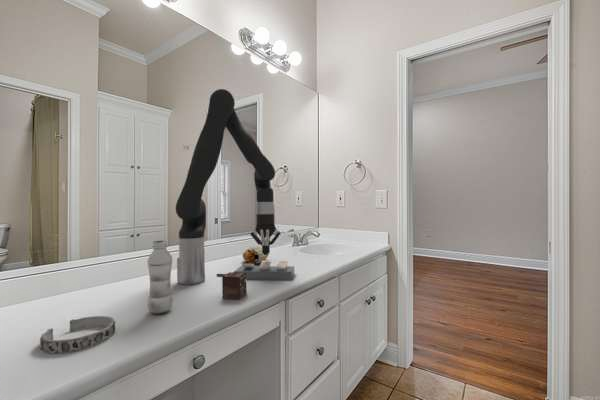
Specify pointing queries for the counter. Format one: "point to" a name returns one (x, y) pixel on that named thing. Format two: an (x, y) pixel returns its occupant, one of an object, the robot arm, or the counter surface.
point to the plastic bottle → (160, 278)
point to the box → (234, 285)
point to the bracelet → (81, 342)
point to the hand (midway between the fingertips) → (266, 254)
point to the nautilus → (254, 255)
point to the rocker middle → (265, 265)
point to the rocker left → (248, 265)
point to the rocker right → (281, 265)
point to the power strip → (266, 273)
